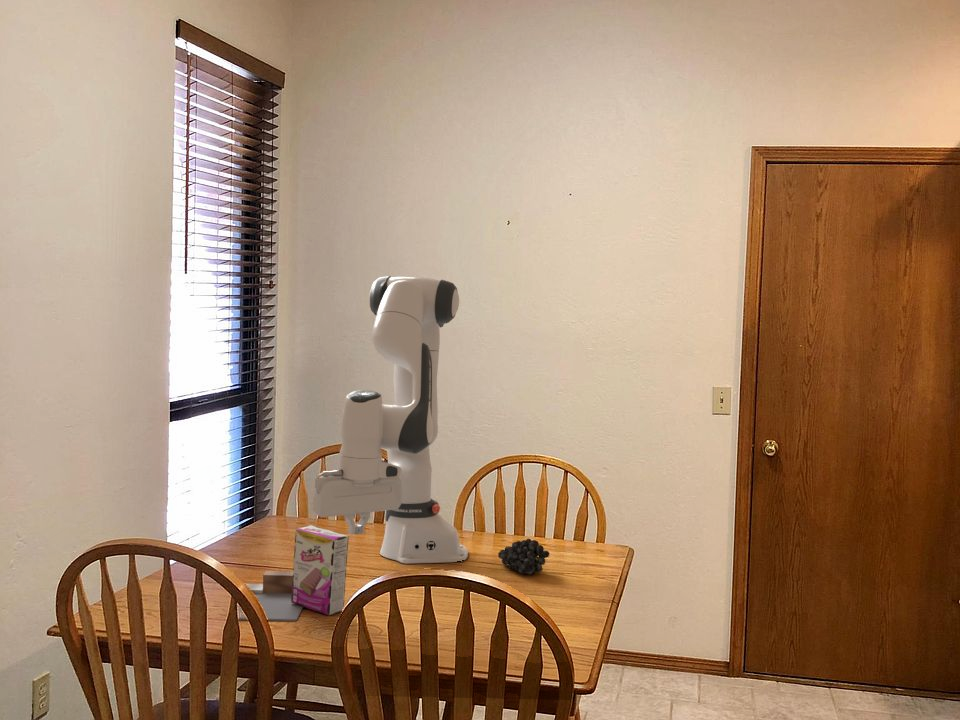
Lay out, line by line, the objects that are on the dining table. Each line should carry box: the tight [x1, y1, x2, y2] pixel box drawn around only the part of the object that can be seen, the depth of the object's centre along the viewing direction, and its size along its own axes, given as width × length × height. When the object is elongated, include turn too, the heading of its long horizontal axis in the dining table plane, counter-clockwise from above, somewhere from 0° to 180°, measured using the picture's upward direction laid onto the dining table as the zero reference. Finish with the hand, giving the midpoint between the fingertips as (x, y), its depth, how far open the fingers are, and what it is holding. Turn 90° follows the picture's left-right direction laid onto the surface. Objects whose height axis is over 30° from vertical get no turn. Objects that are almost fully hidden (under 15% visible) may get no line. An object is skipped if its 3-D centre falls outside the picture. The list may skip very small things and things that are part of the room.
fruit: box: [498, 538, 550, 576], centre depth 242 cm, size 9×8×15 cm
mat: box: [238, 593, 304, 622], centre depth 211 cm, size 14×20×1 cm
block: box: [245, 570, 293, 594], centre depth 218 cm, size 13×4×4 cm, turn 91°
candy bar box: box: [291, 525, 349, 616], centre depth 208 cm, size 11×5×16 cm, turn 57°
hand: (356, 533), depth 208 cm, fingers closed
